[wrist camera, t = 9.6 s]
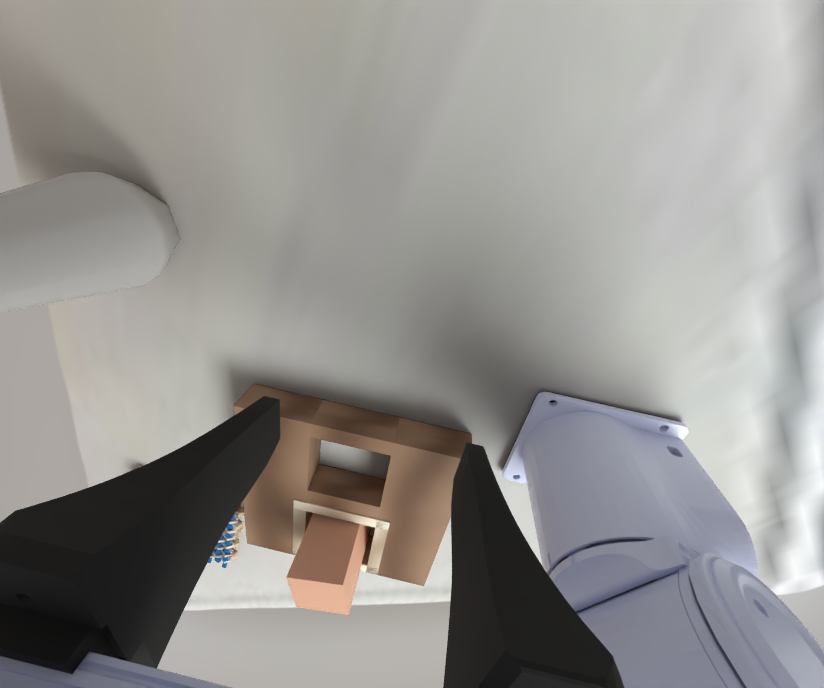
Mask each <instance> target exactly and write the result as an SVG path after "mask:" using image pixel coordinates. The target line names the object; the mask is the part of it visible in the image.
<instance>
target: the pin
mask: <svg viewBox="0 0 824 688" xmlns="http://www.w3.org/2000/svg"><path fill="white" fill-rule="evenodd" d="M370 528H371V526H366V525H362V524H358V523H354V522H350V521H345V520H341V519H337V518H333V517H329V516H324V515H320V514H316V513H313V515H312V517H311V520H310V522H309V525H308V527H307V529H306V532H305V534H304V537H303V539H302V541H301V544H300V546H299V549H298V551H297V553H296V556H295V558H294V561H293V563H292V565H291V568H290V570H289V573H288V575H287V580H288V583H289V586H290V589H291V592H292V595H293V598H294V601H295V604H296V607H300V608H306V609H313V610H320V611H327V612H334V613H340V614H346V615H349V612H350V608H351V604H352V600H353V596H354V592H355V588H356V584H357V580H358V576H359V572H360V568H361V564H362V560H363V556H364V552H365V548H366V544H367V540H368V536H369V532H370Z"/></svg>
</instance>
